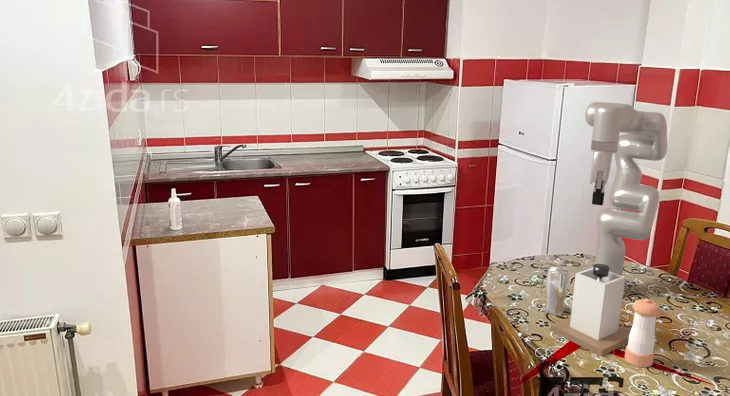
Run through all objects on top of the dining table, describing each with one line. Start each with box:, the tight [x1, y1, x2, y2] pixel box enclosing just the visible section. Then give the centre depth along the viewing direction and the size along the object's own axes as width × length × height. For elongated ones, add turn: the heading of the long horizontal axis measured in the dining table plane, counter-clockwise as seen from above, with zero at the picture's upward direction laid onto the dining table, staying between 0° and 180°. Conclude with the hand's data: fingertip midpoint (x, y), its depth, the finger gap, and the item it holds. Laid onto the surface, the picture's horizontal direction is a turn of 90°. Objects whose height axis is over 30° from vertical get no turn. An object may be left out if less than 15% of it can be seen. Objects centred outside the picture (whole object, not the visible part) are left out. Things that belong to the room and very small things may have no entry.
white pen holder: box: [549, 267, 631, 357], centre depth 170 cm, size 18×18×20 cm
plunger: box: [592, 263, 609, 282], centre depth 169 cm, size 8×8×20 cm
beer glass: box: [544, 266, 570, 316], centre depth 186 cm, size 7×7×15 cm
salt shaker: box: [624, 298, 662, 368], centre depth 156 cm, size 7×7×19 cm
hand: (597, 204), depth 174 cm, fingers closed
